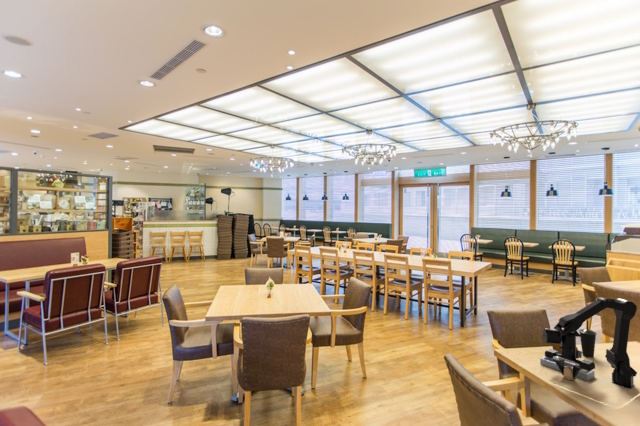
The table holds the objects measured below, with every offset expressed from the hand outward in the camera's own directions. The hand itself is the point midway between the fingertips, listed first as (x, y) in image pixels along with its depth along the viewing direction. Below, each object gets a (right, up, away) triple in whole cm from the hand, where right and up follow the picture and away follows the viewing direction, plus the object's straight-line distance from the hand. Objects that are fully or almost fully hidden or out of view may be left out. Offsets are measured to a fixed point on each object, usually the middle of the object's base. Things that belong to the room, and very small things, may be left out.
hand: (569, 377), depth 155 cm
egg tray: (+5, -1, +9) cm, 10 cm away
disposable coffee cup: (+18, -2, +30) cm, 35 cm away
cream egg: (+9, -1, +3) cm, 9 cm away
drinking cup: (+32, -2, +27) cm, 42 cm away
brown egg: (0, -1, 0) cm, 1 cm away
